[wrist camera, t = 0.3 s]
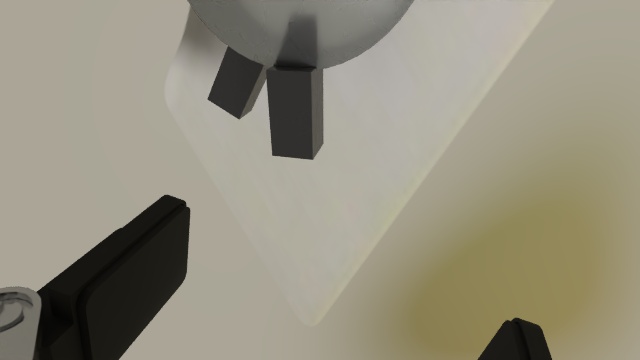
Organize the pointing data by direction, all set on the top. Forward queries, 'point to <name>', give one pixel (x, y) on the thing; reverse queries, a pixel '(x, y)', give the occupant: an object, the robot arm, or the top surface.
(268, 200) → the top surface
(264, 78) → the cooker pot
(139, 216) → the robot arm
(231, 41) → the cooker lid
